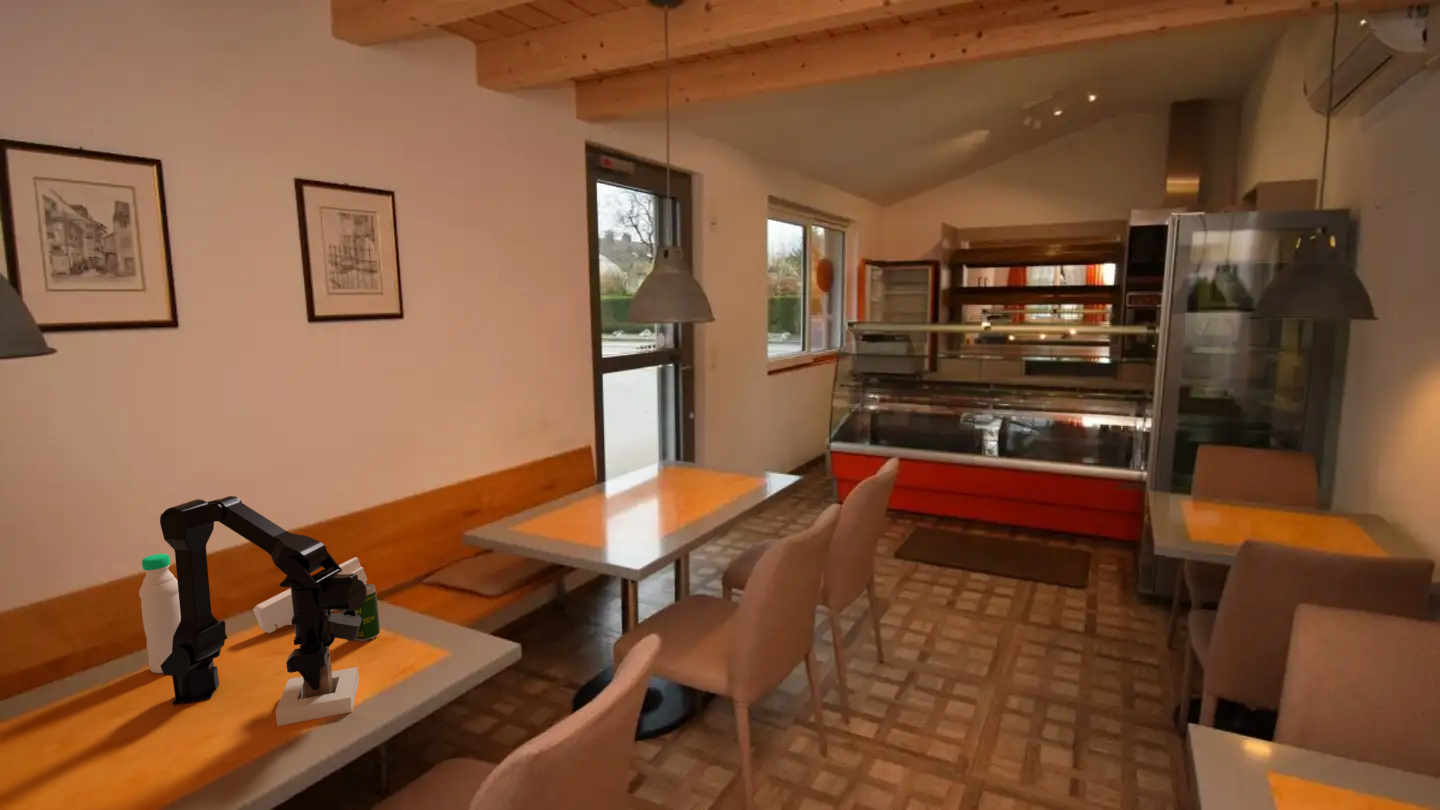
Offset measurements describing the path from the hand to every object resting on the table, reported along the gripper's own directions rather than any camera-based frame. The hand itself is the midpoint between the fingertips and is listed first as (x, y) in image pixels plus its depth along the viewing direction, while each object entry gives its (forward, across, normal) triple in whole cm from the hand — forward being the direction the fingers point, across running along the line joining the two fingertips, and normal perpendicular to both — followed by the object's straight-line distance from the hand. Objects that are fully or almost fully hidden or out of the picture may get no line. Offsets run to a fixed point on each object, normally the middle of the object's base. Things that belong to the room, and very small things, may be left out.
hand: (318, 683), depth 144 cm
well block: (+4, 0, 0) cm, 4 cm away
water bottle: (+4, +29, +33) cm, 44 cm away
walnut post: (+3, 0, 0) cm, 3 cm away
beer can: (+4, +28, -6) cm, 29 cm away
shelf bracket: (+4, +45, +7) cm, 46 cm away
